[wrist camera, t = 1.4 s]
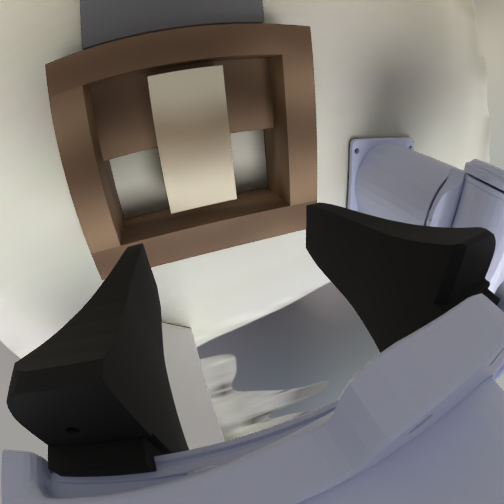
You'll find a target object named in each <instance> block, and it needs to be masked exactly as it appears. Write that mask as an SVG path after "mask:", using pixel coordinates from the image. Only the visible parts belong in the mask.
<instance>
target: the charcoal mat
mask: <svg viewBox="0 0 504 504" xmlns="http://www.w3.org/2000/svg"><path fill="white" fill-rule="evenodd" d="M80 12H81V36H82V49H84V50H86V49H89V48H92V47H96V46H99V45H102V44H106V43H110V42H113V41H117V40H121V39H125V38H130V37H134V36H139V35H143V34H149V33H154V32H160V31H166V30H172V29H179V28H187V27H196V26H207V25H222V24H262V23H263V22H264V13H263V4H262V0H80Z"/></svg>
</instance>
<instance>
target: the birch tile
mask: <svg viewBox="0 0 504 504" xmlns="http://www.w3.org/2000/svg"><path fill="white" fill-rule="evenodd" d="M147 78H148V85H149V93H150V100H151V107H152V114H153V120H154V126H155V133H156V139H157V144H158V150H159V156H160V161H161V166H162V172H163V177H164V182H165V187H166V192H167V196H168V201H169V206H170V210H171V214H172V213H176V212H180V211H185V210H189V209H193V208H198V207H202V206H206V205H211V204H215V203H220V202H225V201H229V200H234V199H237V195H236V186H235V177H234V168H233V159H232V150H231V141H230V131H229V122H228V113H227V103H226V93H225V84H224V74H223V65H219V66H210V67H201V68H194V69H187V70H180V71H174V72H168V73H163V74H158V75H153V76H148V77H147Z"/></svg>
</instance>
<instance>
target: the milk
mask: <svg viewBox="0 0 504 504" xmlns="http://www.w3.org/2000/svg"><path fill="white" fill-rule="evenodd" d="M162 335H163V348H164V358H165V365H166V370H167V374H168V379H169V383H170V387H171V391H172V395H173V399H174V403H175V407H176V410H177V414H178V417H179V420H180V424H181V427H182V430H183V433H184V436H185V439H186V442H187V445H188V448H189V450H192V449H196V448H200V447H205V446H209V445H213V444H217V443H221V442H224V441H225V440H224V437H223V435H222V432H221V429H220V426H219V423H218V419H217V416H216V413H215V410H214V407H213V404H212V400H211V397H210V394H209V391H208V387H207V384H206V381H205V377H204V374H203V370H202V367H201V363H200V359H199V356H198V352H197V348H196V344H195V341H194V337H193V333H192V329H190V328H186V327H181V326H176V325H171V324H167V323H162Z"/></svg>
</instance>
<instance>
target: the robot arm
mask: <svg viewBox="0 0 504 504" xmlns="http://www.w3.org/2000/svg"><path fill="white" fill-rule="evenodd" d="M413 145H414V141H413V139H412V138H409V137H395V138H364V139H353V140H352V141H351V143H350V167H349V190H348V207H347V208H343V207H340V206H336V205H331V204H326V203H315V204H310V205H306V249H307V250H308V252H309V254H310V255H311V257H312V258H313V260H314V261H315V263H316V264H317V266H318V267H319V268H320V269H321V270H322V271H323V273H324V274H325V275H326V276H327V277H328V278H329V279H330V281H331V282H332V283H333V284H334V285H335V286H336V287H337V288H338V290H339V291H340V292H341V293H342V294H343V295H344V296H345V298H346V299H347V300H348V301H349V302H350V304H351V305H352V306H353V308H354V309H355V311H356V312H357V314H358V315H359V317H360V318H361V320H362V321H363V323H364V324H365V326H366V328H367V330H368V331H369V333H370V335H371V336H372V338H373V340H374V341H375V343H376V345H377V347H378V349H379V351H380V354H378V355H377V356H375V357H374V358H372V359H371V360H370V361H369V362H368V363H367V364H366V365H365V366H364V367H363V368H362V369H361V370H360V371H358V372H357V373H356V374H355V375H354V376H353V377H352V378H351V379H350V381H349V382H348V384H347V385H346V387H345V388H344V390H343V391H342V393H341V394H340V397H339V399H338V400H337V401H335V402H332V403H330V404H329V405H326V406H324V407H321V408H319V409H317V410H314V411H312V412H309V413H307V414H305V415H302V416H300V417H297V418H294V419H292V420H289V421H287V422H284V423H281V424H278V425H276V426H273V427H270V428H267V429H264V430H261V431H258V432H255V433H252V434H249V435H245V436H242V437H239V438H235V439H232V440H228V441H224V442H221V443H217V444H213V445H209V446H205V447H200V448H196V449H192V450H189V448H188V445H187V442H186V439H185V436H184V433H183V430H182V427H181V424H180V420H179V417H178V414H177V410H176V407H175V403H174V399H173V395H172V391H171V387H170V383H169V379H168V374H167V370H166V365H165V358H164V348H163V335H162V319H161V306H160V301H159V295H158V289H157V285H156V282H155V279H154V276H153V273H152V270H151V267H150V264H149V261H148V258H147V254H146V251H145V248H144V245H143V243H141V244H137V245H133V246H129V247H127V249H126V250H125V251H124V253H123V254H122V256H121V257H120V259H119V260H118V262H117V263H116V265H115V266H114V268H113V269H112V271H111V272H110V274H109V275H108V277H107V278H106V279H105V281H104V282H103V283H102V285H101V286H100V287H99V289H98V290H97V292H96V293H95V294H94V295H93V296H92V298H91V299H90V300H89V301H88V302H87V303H86V305H85V306H84V307H83V308H82V309H81V310H80V311H79V312H78V313H77V314H76V315H75V316H74V317H73V318H72V319H71V320H70V321H69V322H68V323H67V324H66V325H65V326H64V327H63V328H61V329H60V330H59V331H58V332H57V333H56V334H54V335H53V336H52V337H51V338H50V339H48V340H47V341H46V342H45V343H43V344H42V345H41V346H39V347H38V348H36V349H35V350H34V351H32V352H31V353H29V354H28V355H26V356H25V357H23V358H22V359H20V360H19V361H18V362H16V363H15V365H14V369H13V373H12V377H11V382H10V386H9V391H8V397H7V405H8V408H9V410H10V412H11V413H12V415H13V416H14V418H15V419H16V420H17V421H18V422H19V423H20V424H21V425H22V426H24V427H25V428H26V429H27V430H29V431H30V432H31V433H32V434H34V435H35V436H36V437H38V438H39V439H40V440H42V441H43V442H44V443H46V444H47V445H48V461H47V460H46V459H44V458H43V457H41V456H39V455H37V454H35V453H32V452H28V451H17V450H3V454H2V504H504V391H503V390H502V389H501V388H500V387H499V385H498V384H497V383H496V380H497V379H498V378H499V377H500V376H501V375H502V373H503V372H504V170H501V169H499V168H497V167H495V166H493V165H490V164H488V163H485V162H483V161H480V160H477V159H473V160H472V161H470V162H466V164H465V169H464V170H465V171H464V170H460V169H458V168H456V167H453V166H451V165H449V164H446V163H444V162H441V161H439V160H436V159H434V158H431V157H429V156H426V155H424V154H421V153H418V152H415V151H413ZM355 149H357V150H356V152H355Z"/></svg>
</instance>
